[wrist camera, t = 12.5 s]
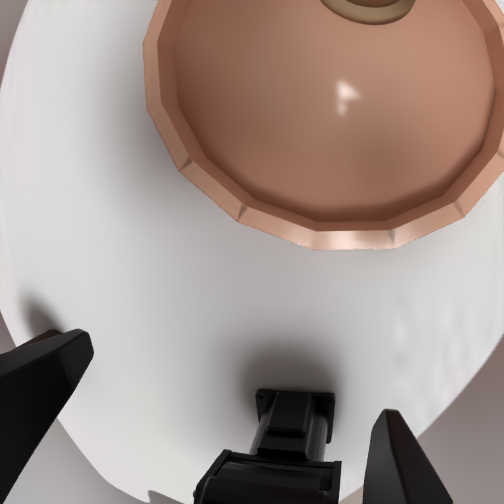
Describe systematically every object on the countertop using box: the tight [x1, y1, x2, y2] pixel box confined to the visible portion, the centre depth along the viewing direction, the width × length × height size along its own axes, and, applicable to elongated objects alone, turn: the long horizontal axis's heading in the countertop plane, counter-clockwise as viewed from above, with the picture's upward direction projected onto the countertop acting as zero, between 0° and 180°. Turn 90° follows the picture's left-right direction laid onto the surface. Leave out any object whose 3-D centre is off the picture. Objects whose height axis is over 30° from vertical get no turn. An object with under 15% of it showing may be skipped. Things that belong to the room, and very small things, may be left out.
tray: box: [143, 0, 504, 250], centre depth 14 cm, size 22×22×3 cm
